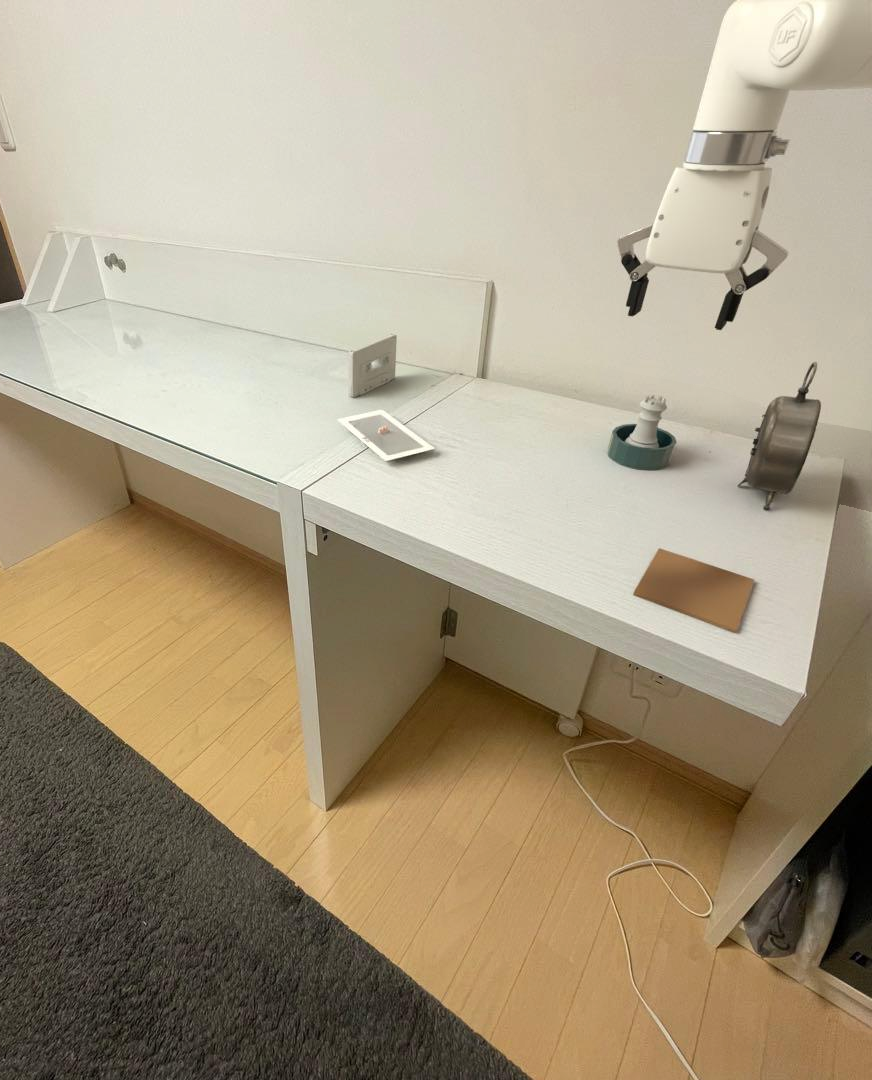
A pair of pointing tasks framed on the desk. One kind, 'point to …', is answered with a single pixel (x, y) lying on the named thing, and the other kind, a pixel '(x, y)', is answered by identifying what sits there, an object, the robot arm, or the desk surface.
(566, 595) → the desk surface
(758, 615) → the desk surface
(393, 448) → the touchpad
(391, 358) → the cassette
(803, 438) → the alarm clock
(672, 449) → the teal round bowl
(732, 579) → the coaster
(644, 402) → the rook chess piece
